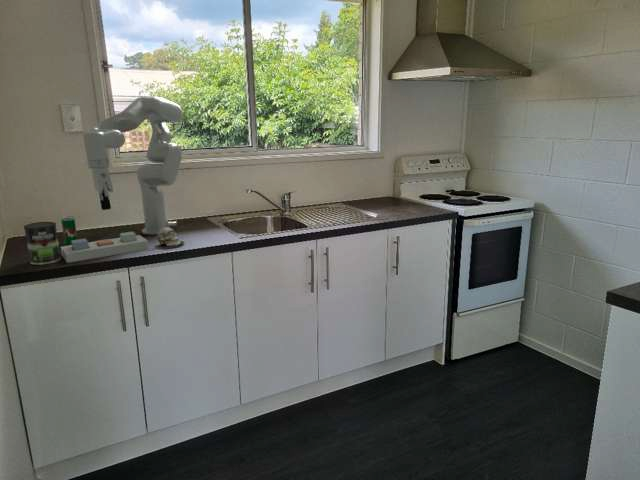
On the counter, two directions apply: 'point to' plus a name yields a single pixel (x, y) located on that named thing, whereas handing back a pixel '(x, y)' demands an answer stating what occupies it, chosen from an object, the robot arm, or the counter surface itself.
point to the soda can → (69, 229)
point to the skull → (168, 238)
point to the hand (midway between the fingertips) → (106, 209)
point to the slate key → (79, 244)
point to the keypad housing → (103, 249)
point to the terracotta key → (104, 242)
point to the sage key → (128, 237)
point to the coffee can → (42, 243)
